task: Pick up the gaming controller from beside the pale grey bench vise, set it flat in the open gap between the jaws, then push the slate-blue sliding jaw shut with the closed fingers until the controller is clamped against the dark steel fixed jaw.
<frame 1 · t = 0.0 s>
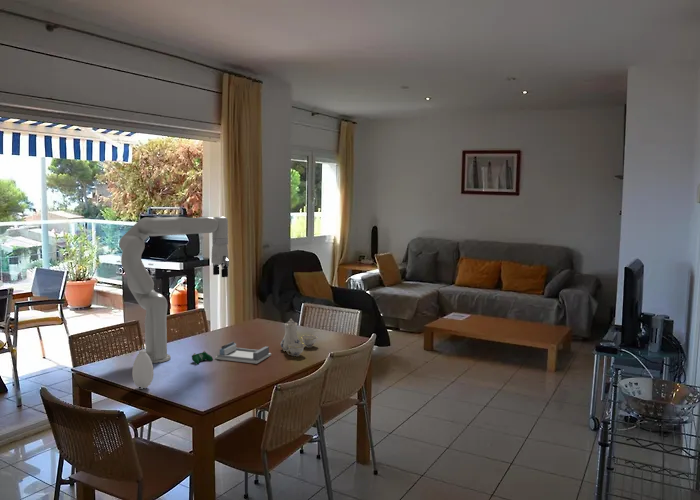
hand: (220, 275, 280), 37 cm above the table, tool pointing down, fingers open, 9 cm apart
chinaware: (296, 350, 283), on the table
white tall teardrop piece: (143, 388, 224), on the table
vise base: (243, 357, 270), on the table
sliding jaw: (228, 348, 272), point 4 cm above the table, slide at 0.0 cm
gaming controller: (201, 362, 262), on the table
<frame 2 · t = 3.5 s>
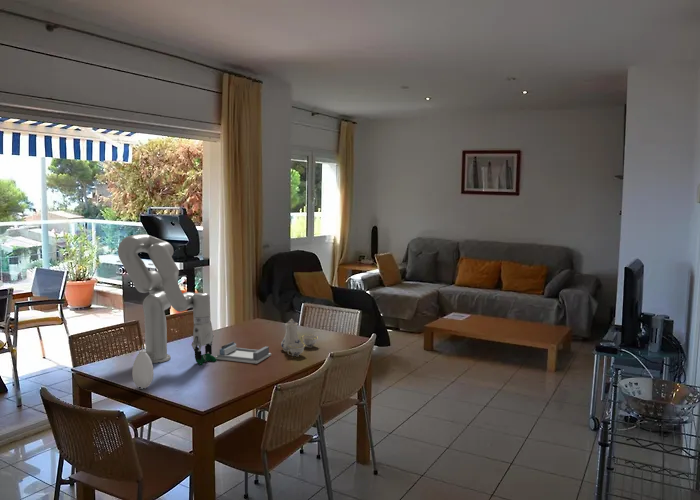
hand: (203, 356, 262), 2 cm above the table, tool pointing down, fingers open, 8 cm apart
gaming controller: (205, 363, 261), on the table, touching gripper
everything else where it was.
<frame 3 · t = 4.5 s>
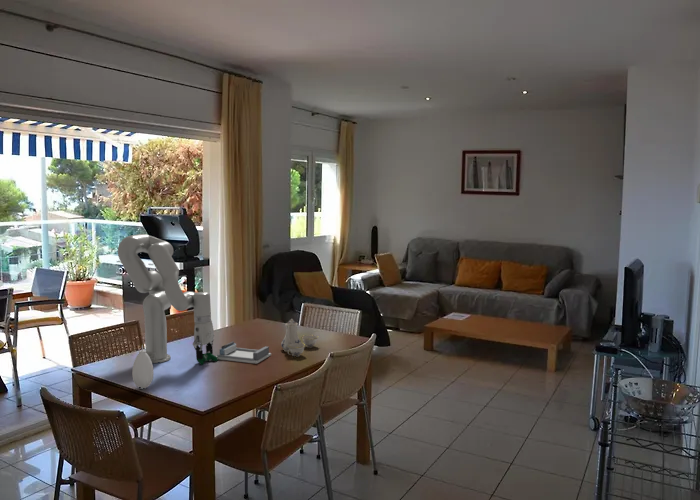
hand: (204, 356, 262), 3 cm above the table, tool pointing down, fingers closed on gaming controller, 7 cm apart
gaming controller: (206, 362, 261), on the table, touching gripper
everything else where it was.
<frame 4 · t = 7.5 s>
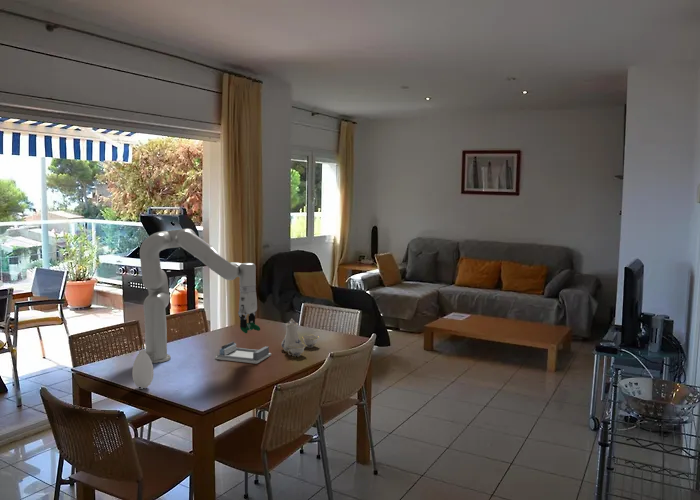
hand: (247, 325, 267), 16 cm above the table, tool pointing down, fingers closed on gaming controller, 7 cm apart
gaming controller: (249, 331, 267), point 13 cm above the table, touching gripper
everything else where it was.
when the fingers open (4 cm above the table, at t = 10.2 s): gaming controller stays where it is, resting on vise base.
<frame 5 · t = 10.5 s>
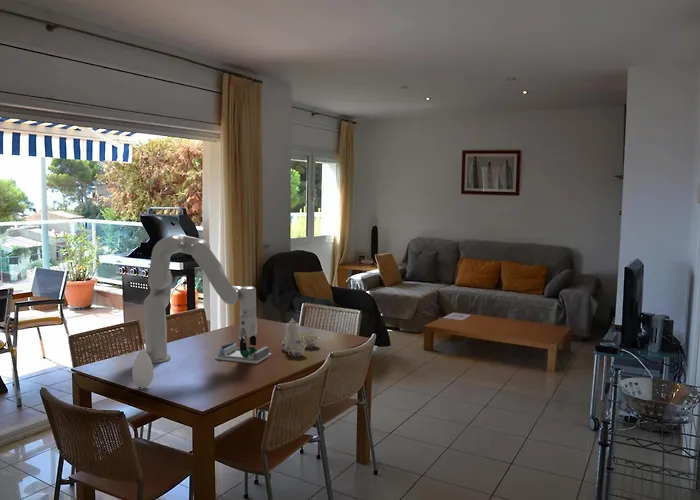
hand: (248, 347, 268), 5 cm above the table, tool pointing down, fingers open, 9 cm apart
gaming controller: (249, 356, 268), point 1 cm above the table, touching vise base
everything else where it was.
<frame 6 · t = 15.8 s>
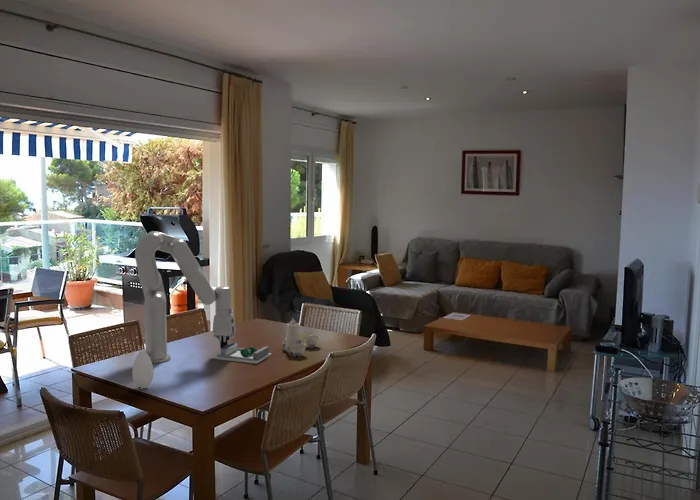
hand: (223, 349, 273), 3 cm above the table, tool pointing down, fingers closed
sliding jaw: (229, 348, 272), point 4 cm above the table, slide at 0.6 cm, touching gripper
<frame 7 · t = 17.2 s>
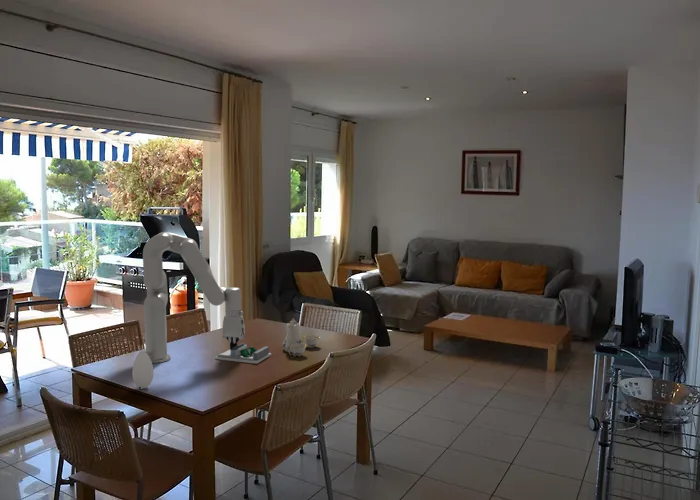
hand: (233, 350, 271), 3 cm above the table, tool pointing down, fingers closed
sliding jaw: (239, 349, 270), point 4 cm above the table, slide at 6.0 cm
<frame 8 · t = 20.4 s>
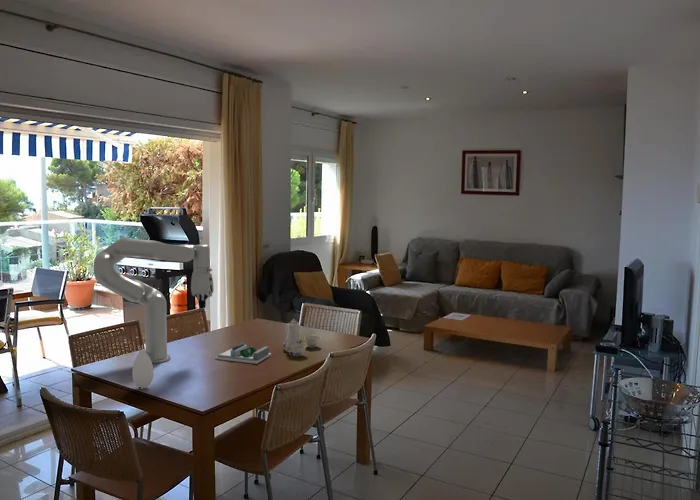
hand: (202, 308, 270), 23 cm above the table, tool pointing down, fingers closed
at the end: gaming controller 1.6 cm from the target spot on the vise base, point 0.8 cm above the vise base's base; sliding jaw slide at 6.0 cm; the gripper is holding nothing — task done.
